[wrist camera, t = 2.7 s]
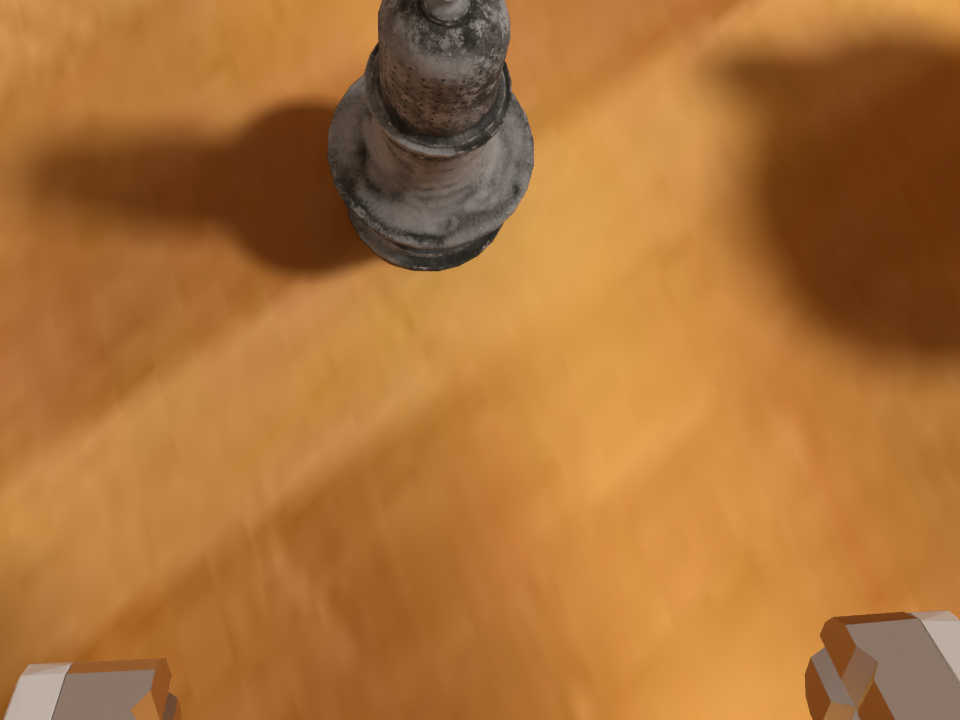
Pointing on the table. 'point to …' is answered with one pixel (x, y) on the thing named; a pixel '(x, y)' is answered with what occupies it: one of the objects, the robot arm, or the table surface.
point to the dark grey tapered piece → (432, 134)
